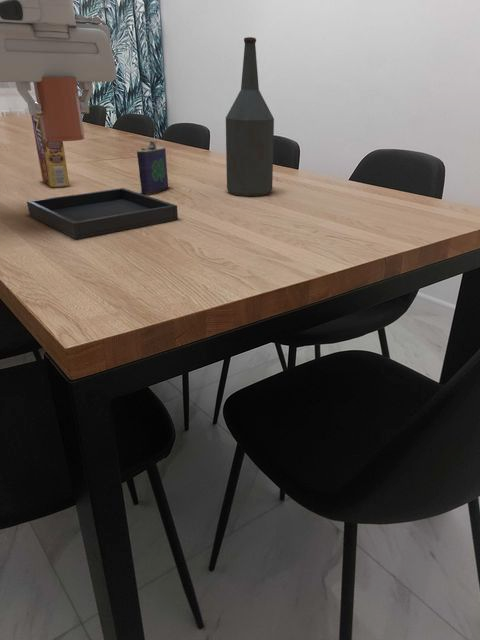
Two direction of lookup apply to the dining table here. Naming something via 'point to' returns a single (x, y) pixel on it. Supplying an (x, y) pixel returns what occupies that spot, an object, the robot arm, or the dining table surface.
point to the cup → (59, 109)
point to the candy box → (50, 158)
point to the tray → (101, 212)
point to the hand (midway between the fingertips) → (60, 114)
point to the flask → (152, 169)
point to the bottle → (249, 134)
